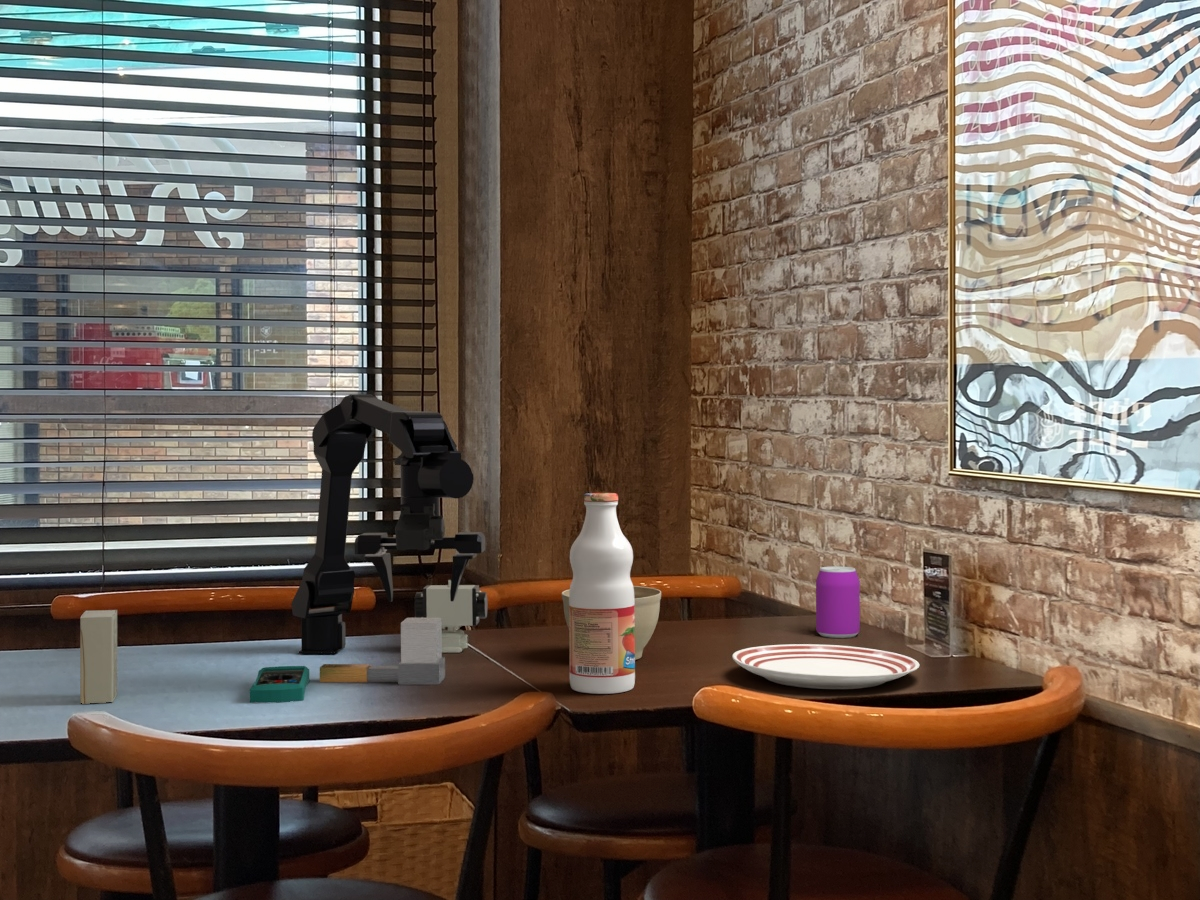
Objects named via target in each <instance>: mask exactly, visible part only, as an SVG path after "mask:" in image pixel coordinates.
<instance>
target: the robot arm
mask: <svg viewBox="0 0 1200 900" xmlns="http://www.w3.org/2000/svg"><path fill="white" fill-rule="evenodd" d="M375 430H378V431H379V432H382V433H384V434H387V435H388V437H389V438H388V442H390V443H391V444H392V445H393V446H394V447H396V449H398V450H399V451H401V453H400V454H399V455H398V456H397V457H396V458H395V460H394V461H393V463H394V465H395V466H400V510H399V511H400V514H399V516H398V520H397V522H396V525H395V528H394V533H395V537H389V535H388V532H364V533H361V534H358V535H357V536H356V538H355V540H354V555H363V560H365V561H370V563H371V564H372V565H373V566H374V567H375V569H376V571H377V573H378V575H379V577H380V580H381V584H382V586H383V589H384V591H385V595H386V597H387V600H388V602H389V603H391V602H393V600H394V599H393V598H394V585H393V584H394V583H393V574H392V573H393V572H392V571H393V570H392V559H391V558H392V556H391V553H390V552H387V551H388V550H398V551H406V550H418V551H427V550H454V551H455V552H456V553H455V554H454V555H452V568H451V569H452V570H451V579H450V580H451V589H450V599H451V601H454V599H455V596H456V593H457V590H458V587H459V585H460V584H461V579H462V577H463V573H464V571H465V569H466V567H467V565H468V563H469V560H474V558H476V557H477V556H478V554H482V553H483V552H484V551H486V536H485V534H484V533H483V532H482V531H461V532H460V531H459V532H457V533H455V535H454V536H445V535H446V534H445V532H446V530H445V518H444V516H443V515H441V513H440V512H441V511H440V510H441V505H440V498H444V499H460V498H461V499H462V498H463V497H465V496H467V494H469V492H470V491H471V490H472V487H473V484H474V473H473V472H472V471H473V470H472V468H471V467H470V465H469V464H468V463H467V462H466V461H465V460H463V459H462V452H461V450H457V444H456V442H455V441H454V439H453V437H452V434H451V432H450V430H449V427H448V425H447V423H446V422H445V420H444V416H443V415H442V414H441V413H439V412H437V411H418V410H416V411H415V410H413V411H412V410H407V409H404V408H402V407H400V406H398V405H395V404H392V403H391V402H390V403H389V402H387V401H385V400H382V399H380V398H378V397H377V396H376V395H373V394H363V393H362V394H359V393H358V394H355V393H352V394H351V393H350V394H349V395H345V396H344V397H343V399H341V401H340V402H339V404H337V405H335V406H334V407H332V408H330V409H329V410H327V411H326V412H324V413H323V414H322V415H321V416H320V418H319V419H318V420H317V422H316V423H315V425H314V427H313V429H312V434H311V438H312V443H313V455H314V457H315V458H316V461H317V463H318V464H319V467H320V468H321V481H320V491H319V492H320V493H319V500H318V501H319V502H318V503H319V504H318V513H317V514H318V515H317V528H316V537H315V538H316V540H315V551H314V554H313V556H312V557H311V559H310V560H309V561H308V562H307V564H306V565H305V566H304V568H303V573H302V578H301V579H302V580H301V582H300V584H299V587H298V589H297V591H296V593H295V595H294V596H293V599H292V601H291V603H290V605H291V611H292V616H294V617H297V618H300V623H301V624H300V625H301V626H300V628H301V629H300V630H301V631H300V632H301V633H300V634H301V635H300V637H301V639H300V640H301V648H300V649H299V650H298V654H302V655H303V654H304V655H305V654H308V655H309V654H311V655H313V654H316V655H318V654H320V655H321V654H338V653H340V652H341V651H342V650H343V649H345V648H346V641H347V640H346V639H347V638H346V637H347V636H346V622H345V621H343V615H344V614H346V615H347V614H351V610H352V606H353V602H354V601H353V599H354V594H355V585H354V584H355V578H356V573H355V570H354V569H353V568H351V567H350V565H349V563H348V562H347V560H346V545H347V533H348V524H349V521H348V520H349V513H350V512H349V511H350V503H351V502H350V500H351V490H352V489H351V488H352V481H353V479H352V477H353V473H354V472H355V470H356V469H357V468H358V466H359V465H360V463H361V461H363V459H364V455H365V450H366V444H367V443H368V442H369V441H370V440H371V438H372V436H373V435H374V434H375V432H376V431H375Z"/></svg>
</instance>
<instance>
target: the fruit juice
mask: <svg viewBox="0 0 1200 900" xmlns="http://www.w3.org/2000/svg"><path fill="white" fill-rule="evenodd" d="M583 503H584V506H585V509H586V510H585V517H584V522H583V524H582V528H581V530H580V533H579V534H578V536H577V537H576V539H575V540H574V542H573V543H572V545H571V547H570V550H569V562H570V566H571V570H572V580H571V582H570V585H569V589H570V591H569V628H568V631H569V632H568V634H569V638H568V639H569V641H568V642H569V643H568V644H569V647H568V649H569V684H570V685H569V686H570V688H571V690H573V691H575V692H578V693H584V694H592V695H593V694H595V695H608V694H609V695H610V694H619V693H624V692H629V691H631V690H633V689H634V687H635V681H636V660H635V612H634V608H635V598H634V587H633V586H634V584H633V581H632V579H631V570H632V566H633V561H634V551H633V547H632V545H631V542H629V540H628V538H627V537H626V536H625V535H624V534H623V532H622V530H621V527H620V524H619V520H618V516H617V506H618V504H619V495H618V493H615V492H590V493H585V494H584V496H583Z"/></svg>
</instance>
